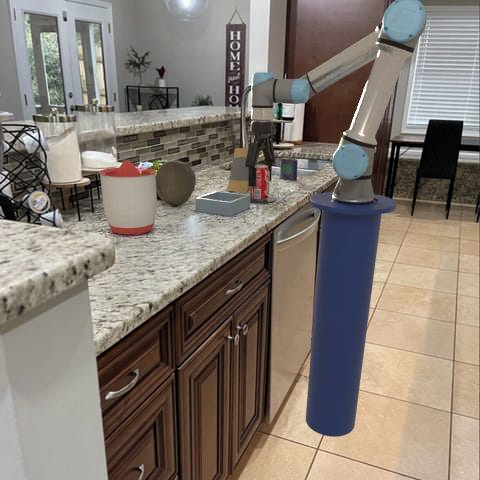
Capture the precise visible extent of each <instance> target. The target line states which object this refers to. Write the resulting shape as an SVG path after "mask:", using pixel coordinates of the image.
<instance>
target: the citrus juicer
mask: <svg viewBox="0 0 480 480" xmlns="http://www.w3.org/2000/svg"><path fill="white" fill-rule="evenodd" d="M156 173H157V170H156V169H154V168H151V167H147V168H146V169H144V170H143V174H141V172H140V170H139V169H138V168H137V167H136V166H135V164H134V163H132V162H131V161H130V160H129V159H125V160H124V161H123V162H122V163H121V165H120V166H119V167H110V168H105V169H104V168H103V169H102V170H99V171H98V174H99V176H100V177H99V179H100V187H101V198H102V207H103V211H104V214H105V218H106V221H107V224H108V226H109V228H110V230H111V232H113V233H114V234H118V235H135V236H140V235H142V234H146V233H148V232H150V231H151V232H152V230H153V228H154V225H155V223H156V222H155V220H156V216H157V211H158V198H157V197H158V194H157V192H156Z"/></svg>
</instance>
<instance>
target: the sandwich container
mask: <svg viewBox="0 0 480 480" xmlns="http://www.w3.org/2000/svg"><path fill="white" fill-rule="evenodd" d="M247 153H248V148H246V147H235V148H234V152H233V158H232V163H231V169H230V174H229V178H228V183H227V189H226V192H235V193H236V192H237V193H238V192H239V193H241V192H242V193H248V192H250V186H248V174H249V167H246V166H245V163H246V158H247Z"/></svg>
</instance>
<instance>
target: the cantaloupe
mask: <svg viewBox="0 0 480 480" xmlns="http://www.w3.org/2000/svg"><path fill="white" fill-rule="evenodd" d="M155 176H156V194H157V196H158V197H159V199H160V200H161V201H162V202H164V203H165V204H167V205H170V206H173V207H174V206H175V207H177V206H181V205H184V204H185V203H186V202H188V201H189V200H190V198H191V197H192V195H193V193H194V191H195V187H196V183H197V179H196V178H197V177H196V173H195V171H194V169H193V168H192V167H191V165H189V164H188V163H187V162H185V161H181V160H168V161H165V162H163V163H161V165H160V166H159V167H158V169H157V170H156V173H155Z"/></svg>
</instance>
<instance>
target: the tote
mask: <svg viewBox="0 0 480 480" xmlns="http://www.w3.org/2000/svg"><path fill="white" fill-rule="evenodd" d="M194 201H195V203H194V204H195V212H198V213H204V214H205V213H206V214H210V215H211V214H212V215H217V216H218V215H219V216H226V217H233V216H235V215H237V214H240V213H243V212H244V211H246V210H249V209H250V208H251V203H250V194H243V193H236V192H235V193H234V192H229V191H218V190H215V191H212V192H209V193H206V194H202V195H200V196H197V197H195V199H194Z"/></svg>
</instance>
